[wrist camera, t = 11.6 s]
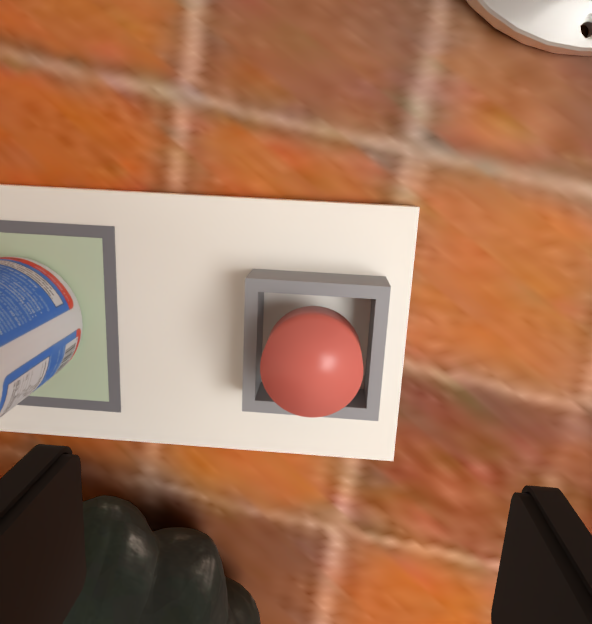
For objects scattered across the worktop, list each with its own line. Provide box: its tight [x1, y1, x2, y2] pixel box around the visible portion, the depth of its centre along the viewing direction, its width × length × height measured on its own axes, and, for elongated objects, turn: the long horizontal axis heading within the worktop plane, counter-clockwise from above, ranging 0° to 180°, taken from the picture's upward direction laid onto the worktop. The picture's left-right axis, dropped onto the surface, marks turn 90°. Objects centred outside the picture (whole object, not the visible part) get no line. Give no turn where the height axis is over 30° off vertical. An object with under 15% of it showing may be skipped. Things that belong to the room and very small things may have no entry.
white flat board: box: [0, 184, 420, 461], centre depth 23 cm, size 11×21×3 cm, turn 87°
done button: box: [260, 306, 363, 417], centre depth 20 cm, size 4×4×2 cm
